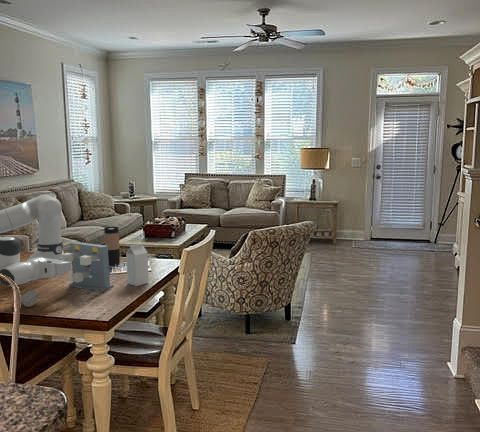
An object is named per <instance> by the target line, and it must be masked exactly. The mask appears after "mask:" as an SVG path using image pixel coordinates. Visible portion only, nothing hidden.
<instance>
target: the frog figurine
mask: <svg viewBox="0 0 480 432" xmlns="http://www.w3.org/2000/svg"><path fill="white" fill-rule="evenodd" d="M38 298H39V293H37V292H36V289H32V290H30V289H29V290H28V291H26V292H25V293H23V294H22V295H21V299H20V300H21V302H22V303H23V305H24V306H25V307H26V308H31V307H34V305H36V303H37V299H38Z"/></svg>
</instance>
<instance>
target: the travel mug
mask: <svg viewBox="0 0 480 432" xmlns="http://www.w3.org/2000/svg"><path fill="white" fill-rule="evenodd" d="M103 231H104V234H103V235H104V245H105V246H108V260H109V266H115V265H114V264H118V265H119V263H120V261H121V259H120V258H121V257H120V256H121V255H120V253H121V252H120V251H121V249H120V235H119V227H117V226H106V227H104V229H103Z"/></svg>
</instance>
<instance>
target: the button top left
mask: <svg viewBox="0 0 480 432" xmlns="http://www.w3.org/2000/svg"><path fill="white" fill-rule="evenodd" d="M78 257H81V251H78V252H74V253H71V252H64V254H62V259H66V261H68V262H71V263H72V261H73V259H75V258H78Z"/></svg>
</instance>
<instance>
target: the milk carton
mask: <svg viewBox="0 0 480 432" xmlns="http://www.w3.org/2000/svg"><path fill="white" fill-rule="evenodd" d="M125 254H126V255H125V257H126V276H127V277H126V279H127V281H126V282H127V284H128V285H130V286H131V285H132V286H134V287H139V286H143V285H146V284H149V282H150V281H149V258H148V257H149V256H148V250H147V249H146V248H145V246H144V244H143V243H142V242H141V243H137V244H131V245H130V246H129V248H128V250H127V251H126V252H125Z"/></svg>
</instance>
